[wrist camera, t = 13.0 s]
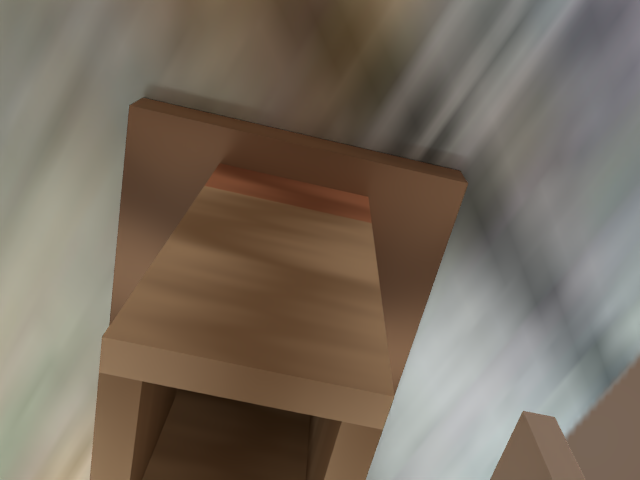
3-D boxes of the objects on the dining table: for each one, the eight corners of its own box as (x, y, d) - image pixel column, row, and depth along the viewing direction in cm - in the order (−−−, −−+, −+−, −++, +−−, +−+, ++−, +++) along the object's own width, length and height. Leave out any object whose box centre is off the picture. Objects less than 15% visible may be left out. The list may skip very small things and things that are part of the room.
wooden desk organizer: (143, 97, 21) (-92, 231, 10) (460, 170, 22) (592, 376, 10) (103, 491, 29) (-50, 820, 18) (336, 535, 30) (334, 878, 18)
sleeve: (198, 293, 23) (84, 542, 13) (219, 163, 20) (102, 336, 10) (333, 322, 23) (328, 587, 13) (368, 196, 21) (394, 396, 11)
